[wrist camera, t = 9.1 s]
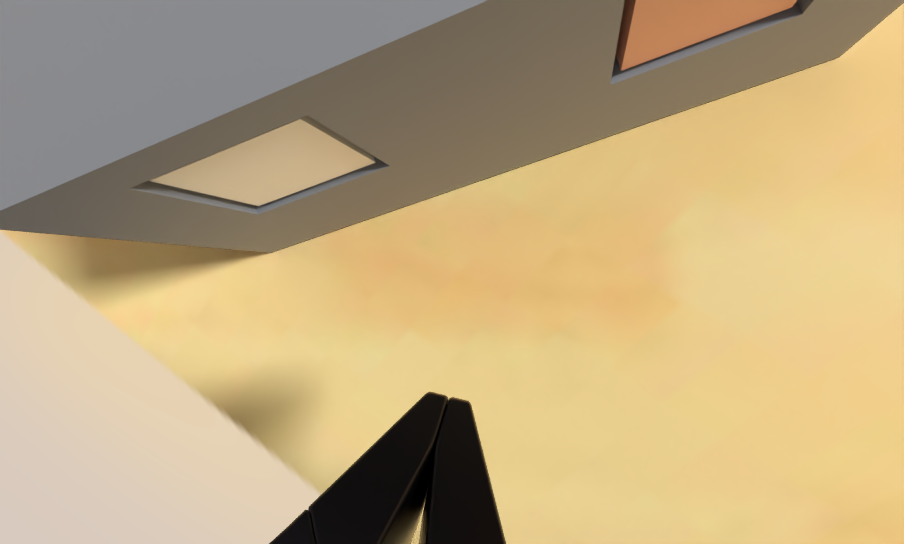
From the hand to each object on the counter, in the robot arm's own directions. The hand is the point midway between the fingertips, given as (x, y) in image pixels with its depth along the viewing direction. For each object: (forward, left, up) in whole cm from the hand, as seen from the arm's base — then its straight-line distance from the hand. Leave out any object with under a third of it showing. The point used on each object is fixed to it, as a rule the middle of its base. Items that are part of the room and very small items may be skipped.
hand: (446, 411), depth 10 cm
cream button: (+8, +2, -4) cm, 9 cm away
